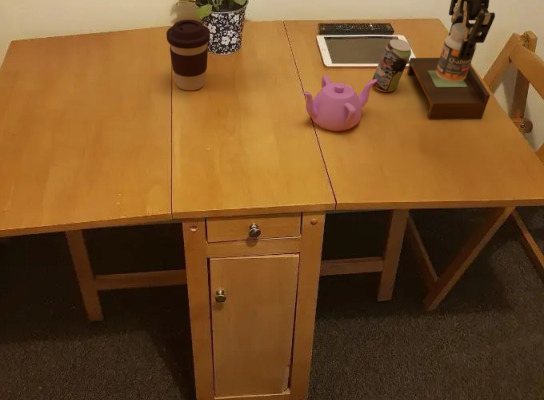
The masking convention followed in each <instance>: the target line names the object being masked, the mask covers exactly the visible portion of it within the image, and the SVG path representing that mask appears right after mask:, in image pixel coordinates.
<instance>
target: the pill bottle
mask: <svg viewBox="0 0 544 400" xmlns="http://www.w3.org/2000/svg"><path fill="white" fill-rule="evenodd" d="M450 29H451V31H450V30H449V32H450V33H451V35H449V34H448V35H447V36H446V38H445V39H444V42H443V45H442V50H441V53H440V56H439V58H440V59H439V62H438V66H437V70H436V73H437V75H438V77H440V78H441V79H443V80H445V81H449V82H460V81H462V80H464V79H465V78H466V75H467V73H468V70H469V67H470V65H472V61H473V58H474V55H475V52H476V50H477V43H476V44H475V47H474V51H473V54H472V57H471V58H470V59H468V60H461V59H460V58H459V57H458V55H459V52H460V48H461V45H462V42H463V40H464V33H465V28H464V27H463V23H456V24H454V25H453V26H452V28H451V27H450ZM471 31H472V28H471V29H470V33H471Z"/></svg>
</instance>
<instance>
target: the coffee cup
mask: <svg viewBox="0 0 544 400" xmlns="http://www.w3.org/2000/svg"><path fill="white" fill-rule="evenodd" d="M165 35H166V41H167V43H168V44H169V54H170V60H171V66H172V67H171V68H172V71H173V75H174V83H175V85H176V87H177V88H179V89H181V90H184V91H196V90H199V89H201V88H203V87H204V86H205V84H206V78H207V77H206V75H207V69H208V56H209V55H208V54H209V53H208V52H209V45H208V43H209V42H210V39H211V32H210V29H209V28H208V27H207V26H205V25H203V24H202V22H201V21H199V20H195V19H181V20H178V21H177V22H175V23H174V24H173V26H171V27H170V28H168V30H166V34H165Z"/></svg>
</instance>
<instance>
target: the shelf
mask: <svg viewBox="0 0 544 400" xmlns="http://www.w3.org/2000/svg"><path fill="white" fill-rule="evenodd" d="M439 59H440V57H410V58H409V61H408V62H409V63H408V67H407V70H406V75H407V76H415V77H416V79H417V80H418V82H419V85H420V87H421V89H422V91H423V92H424V94H425V96H426V98H427V100H428V103H429V105H430V106H429V109H428V113H427V118H428V120H473V119H475V120H476V119H477V120H478V119H479V120H480V119H481V120H482V119H483V116H484V113H485V111H486V108H487V105H488V102H489V99H490V97H491V94H490V93H489V90H488V89H487V88H486V87H485V85H484V83H483V82H482V80H481V79H480V77H479V76H478V74H477V72H476V71H475V69H474V68H473V66H472V64H470V67H469V70H468V73H467V75H466V78H465V79H464V80H462V81H460V82H449V81H445V80H443V79H441V78H440V77H438V75H437V73H436V70H437V66H438V62H439Z"/></svg>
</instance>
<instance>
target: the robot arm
mask: <svg viewBox="0 0 544 400" xmlns="http://www.w3.org/2000/svg"><path fill="white" fill-rule="evenodd" d="M489 6H490V0H450V5H449V10H448V16H451V17H450V22H451V26H450V28H449V33H448V36H449V35H451V33H450V31H451V28H452V26H453V25H454V24H456V23H463V27H464V28H465V33H464V40H463V42H462V45H461V48H460V52H459V55H458V57H459V58H460V59H461V60H468V59H470V58H471V57H472V54H473V51H474V47H475V44H476V45H477V44H483V43H485V41H486V38H487V36H488V34H489V32H490V29H491V27H492V25H493V23H494V21H495V19H496V18H495V17H496V13H495V12H490V11H489ZM470 21H474V22H470ZM471 28H472V31H471V33H470V29H471Z"/></svg>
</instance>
